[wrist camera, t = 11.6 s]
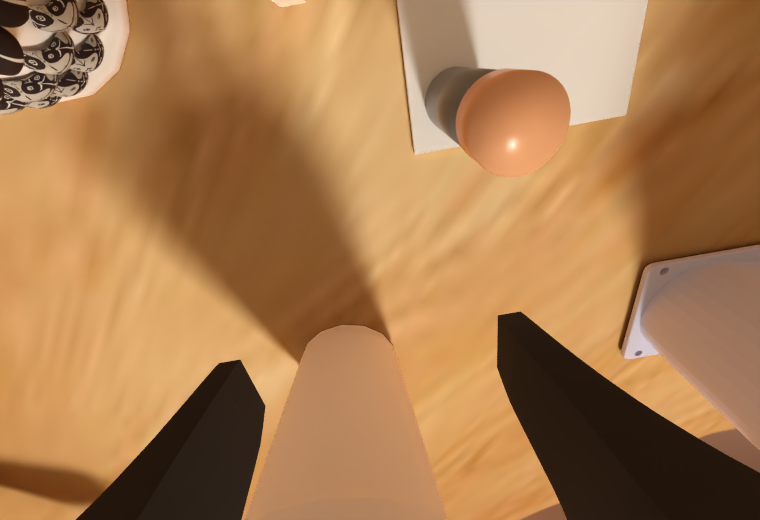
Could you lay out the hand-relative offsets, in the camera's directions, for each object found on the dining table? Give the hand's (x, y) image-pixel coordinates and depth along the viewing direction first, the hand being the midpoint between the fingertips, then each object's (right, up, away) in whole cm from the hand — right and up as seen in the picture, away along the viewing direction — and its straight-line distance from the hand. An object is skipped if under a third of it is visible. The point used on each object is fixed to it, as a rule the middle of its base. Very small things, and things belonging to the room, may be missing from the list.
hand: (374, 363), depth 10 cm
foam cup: (-2, -4, +14) cm, 15 cm away
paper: (+6, +12, +5) cm, 15 cm away
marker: (+4, +10, +6) cm, 12 cm away
